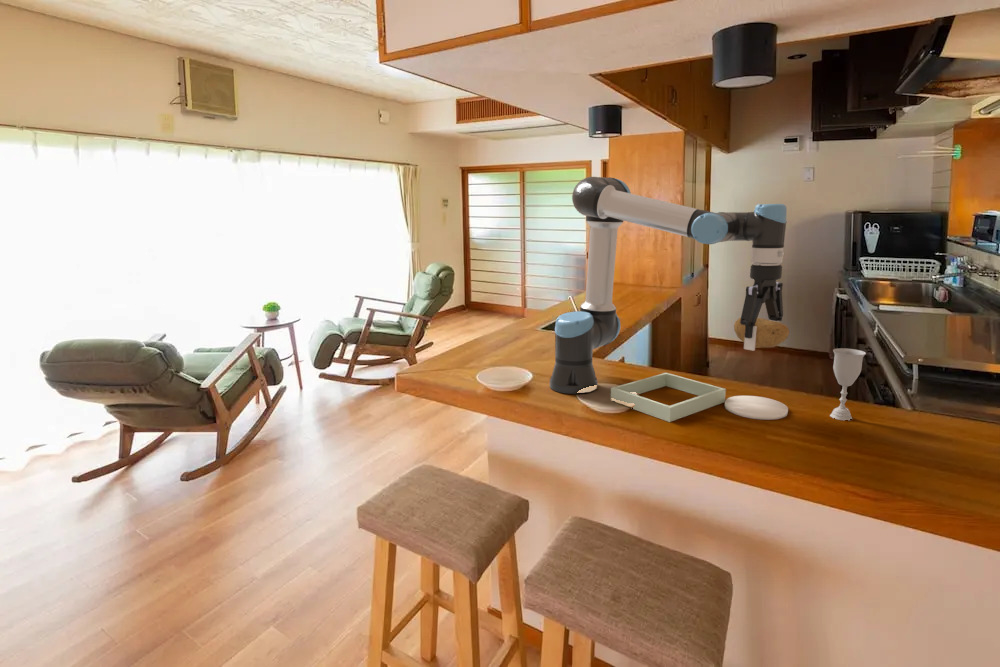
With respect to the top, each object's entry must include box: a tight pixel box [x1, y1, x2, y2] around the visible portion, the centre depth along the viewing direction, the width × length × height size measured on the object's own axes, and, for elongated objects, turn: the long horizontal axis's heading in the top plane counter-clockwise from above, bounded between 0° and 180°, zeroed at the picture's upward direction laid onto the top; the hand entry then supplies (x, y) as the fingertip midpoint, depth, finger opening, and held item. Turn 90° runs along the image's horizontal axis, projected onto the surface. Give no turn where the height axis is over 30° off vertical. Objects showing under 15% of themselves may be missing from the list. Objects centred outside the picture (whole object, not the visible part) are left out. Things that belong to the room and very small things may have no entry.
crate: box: [610, 372, 727, 423], centre depth 160 cm, size 21×25×4 cm
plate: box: [724, 395, 789, 421], centre depth 153 cm, size 16×16×1 cm
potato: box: [733, 317, 790, 349], centre depth 148 cm, size 10×14×8 cm
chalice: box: [829, 347, 867, 421], centre depth 144 cm, size 7×7×18 cm
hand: (759, 346), depth 149 cm, fingers closed on potato, 9 cm apart
